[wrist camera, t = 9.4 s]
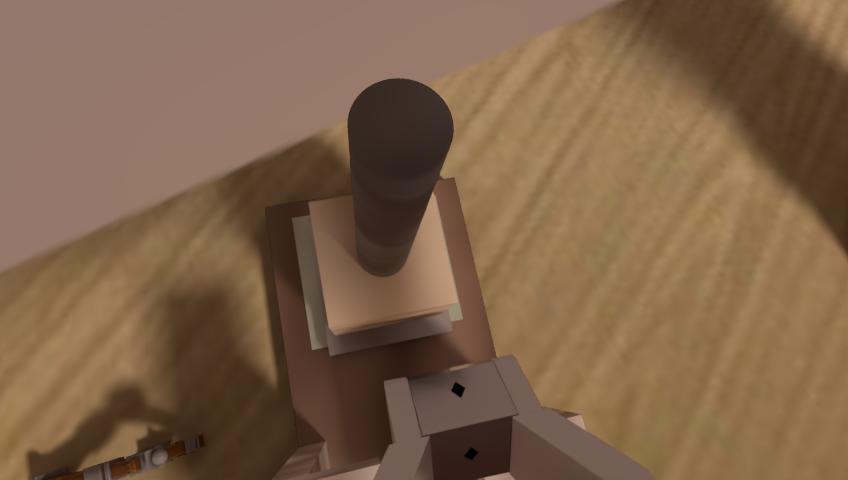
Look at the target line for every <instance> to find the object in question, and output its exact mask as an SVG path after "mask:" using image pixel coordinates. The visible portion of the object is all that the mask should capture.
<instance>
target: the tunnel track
mask: <svg viewBox="0 0 848 480" xmlns="http://www.w3.org/2000/svg"><path fill="white" fill-rule="evenodd" d="M433 193H434V198H435V202H436V207H437V211H438V216H439V220H440V225H441V229H442V234H443V238H444V242H445V247H446V251H447V256H448V260H449V265H450V269H451V274H452V278H453V283H454V287H455V292H456V296H457V301H458V303H456V304H455V305H453V306H452V307H451V308H449V309H448V311H449V315H450V320H451V324H452V329H453V330H452V331H450V332H446V333H441V334H436V335H431V336H426V337H422V338H417V339H412V340H407V341H402V342H397V343H393V344H388V345H383V346H378V347H373V348H369V349H364V350H359V351H354V352H349V353H344V354H340V355H335V356H330V355H329V349H328V343H327V336H326V330H325V324H324V318H323V311H322V305H321V299H320V293H319V286H318V280H317V274H316V268H315V262H314V255H313V249H312V243H311V237H310V230H309V224H308V218H311V215H310V209H309V203H308V202H313V201H320V200H326V199H332V198H339V197H345V196H351V195H353V194H352V193H351V194H345V195H339V196H332V197H326V198H319V199H313V200H307V201H300V202H294V203H287V204H281V205H275V206H268V207H265V213H266V220H267V227H268V234H269V241H270V248H271V255H272V262H273V269H274V276H275V283H276V291H277V298H278V305H279V312H280V319H281V326H282V333H283V340H284V347H285V354H286V361H287V369H288V376H289V383H290V390H291V397H292V404H293V411H294V418H295V425H296V432H297V440H298V447H299V448H298V449H297V450H296V451H295V452H294V453H293V455H292V456H291V457H290V458H289V459H288V461H287V462H286V463H285V464H284V465H283V466H282V468H281V469H280V470H279V471H278V472H277V474H276V475H275V476H274V477H273V478H272V479H271V480H373V479H374V477H375V475H376V472H377V470H378V468H379V466H380V464H381V461H382V459H383V457H384V455H385V453H386V450H387V448H388V446H389V445H390V444H393V441H392V436H391V429H390V423H389V416H388V409H387V402H386V395H385V388H384V381H386V380H392V379H397V378H403V377H406V378H407V376H411V375H417V374H422V373H428V372H433V371H439V370H444V369H448V368H452V367H456V366H461V365H465V364H470V363H474V362H479V361H483V360H488V359H490V360H491V359H493V358H497V357H496V353H495V348H494V344H493V340H492V336H491V331H490V327H489V323H488V319H487V314H486V310H485V306H484V302H483V297H482V293H481V289H480V285H479V280H478V276H477V272H476V268H475V263H474V259H473V255H472V251H471V246H470V242H469V238H468V234H467V229H466V225H465V221H464V217H463V212H462V208H461V204H460V200H459V195H458V191H457V187H456V183H455V178H447V179H441V180H437V182H436V185H435V187H434V190H433ZM542 408H543V409H548V407H543V406H542ZM550 409H552V408H550ZM552 410H553V411H555V412H557V413H558V414H560V415H561V416H563V417H565V418H566V419H568V420H569V421H571V422H573V423H574V424H576V425H578V426H579V427H581V428H582V429H584V430H585V426H584V422H583V418H582V415H581V414H576V413H571V412H567V411H562V410H557V409H552ZM476 480H515V479H514V478H513V477H512V476H511V475H510V472H508V473H503V474H499V475H494V476H489V477H485V478H480V479H476Z"/></svg>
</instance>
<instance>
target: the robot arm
mask: <svg viewBox="0 0 848 480" xmlns="http://www.w3.org/2000/svg"><path fill="white" fill-rule="evenodd" d="M384 388H385V395H386V402H387V409H388V416H389V423H390V429H391V436H392V441H393V444H390V445H389V446H388V448H387V450H386V453H385V455H384V457H383V459H382V461H381V464H380V466H379V468H378V470H377V472H376V475H375V477H374V479H373V480H476V479H480V478H485V477H489V476H494V475H499V474H503V473H508V472H510V475H511V476H512V477H513V478H514V479H515V480H655V479H654V477H653V476H652V474H651V473H650V471H649V470H648V469H647V468H645V467H644V466H642V465H640V464H639V463H637V462H636V461H634V460H632V459H631V458H629V457H627V456H626V455H624V454H623V453H621V452H619V451H618V450H616V449H615V448H613V447H611V446H610V445H608V444H607V443H605V442H603V441H602V440H600V439H598V438H597V437H595V436H594V435H592V434H590V433H589V432H587V431H586V430H584V429H582V428H581V427H579V426H578V425H576V424H574V423H573V422H571V421H569V420H568V419H566V418H565V417H563V416H561V415H560V414H558V413H557V412H555V411H553V410H552V409H550V408H548V409H543V408H542V406H541V404H540V402H539V401H538V399H537V397H536V395H535V393H534V391H533V389H532V387H531V386H530V384H529V382H528V380H527V378H526V376H525V374H524V373H523V371H522V369H521V367H520V365H519V363H518V361H517V360H516V358H515V357H514V356H513V355H507V356H503V357H498V358H493V359H491V360H490V359H488V360H483V361H479V362H474V363H470V364H465V365H461V366H456V367H452V368H448V369H444V370H439V371H433V372H428V373H422V374H417V375H411V376H407V378H406V377H403V378H397V379H392V380H386V381H384Z"/></svg>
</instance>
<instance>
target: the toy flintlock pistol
mask: <svg viewBox="0 0 848 480" xmlns="http://www.w3.org/2000/svg"><path fill="white" fill-rule="evenodd" d="M202 446H205V444H204V439H203V434H202V435H199V436H196V437H191V438H188V439H185V440H182V441H179V442H176V443H175V444H173V445H171V446H170V441H168V442H165V443H162V444H159V445H156V446H153V447H154V448H153V447H152V448H149V449H146V450H144V451H141V452H139V453H137V454H134V455H131V456H128V457H126V459H124V457H119V458H117V459H114V460H111V461H108V462H105V463H102V464H98V465H95V466H92V467H89V468H86V469H83V471H80V472H75V473H68V471H67V467H66V468H63V469H57V470H53V471H50V472H47V473H44V474H41V475H38V476H35V477H32V478H28V480H118V479H120V478H123V477H126V476H127V474H129V477H131V476H134V475H136V474H140V473H144V472H150V471H153V470H155V469H158V468H160V467H163V466H165V463H167V462H169V461H172V460H173V457H176V456H177V457H178V456H181V455H185V454H188V453H190V452H193V451H195V450H196V449H198V448H200V447H202Z"/></svg>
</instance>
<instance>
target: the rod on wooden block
mask: <svg viewBox="0 0 848 480" xmlns="http://www.w3.org/2000/svg"><path fill="white" fill-rule="evenodd" d="M453 132H454V128H453V119H452V116H451V113H450V110H449V108H448V106H447V105H446V103H445V102H444V100H443V99H442V98H441V97H440V96H439V95H438V94H437V93H436V92H435V91H434V90H432V89H431V88H429V87H428V86H426V85H424V84H422V83H419V82H417V81H413V80H409V79H399V78H398V79H388V80H383V81H380V82H377V83H375V84H373V85H371V86H370V87H368V88H366V89H365V90H364V91H363V92H362V93H361V94H360V95H359V96H358V97H357V98H356V100H355V101H354V103H353V105H352V107H351V109H350V112H349V116H348V139H349V152H350V166H351V180H352V194H353V195H351V196H345V197H339V198H332V199H326V200H320V201H313V202H308V203H309V209H310V215H311V218H308V224H309V230H310V237H311V243H312V249H313V255H314V262H315V268H316V274H317V280H318V286H319V293H320V299H321V305H322V311H323V318H324V324H325V330H326V336H327V343H328V349H329V355H330V356H335V355H340V354H344V353H349V352H354V351H359V350H364V349H369V348H373V347H378V346H383V345H388V344H393V343H397V342H402V341H407V340H412V339H417V338H422V337H426V336H431V335H436V334H441V333H446V332H450V331H452V330H453V329H452V324H451V320H450V315H449V311H448V309H449V308H451V307H452V306H453V305H455V304H456V303H458V301H457V296H456V292H455V287H454V283H453V278H452V274H451V269H450V265H449V260H448V256H447V251H446V247H445V242H444V238H443V234H442V229H441V225H440V220H439V216H438V211H437V207H436V202H435V198H434V193H433V190H434V187H435V185H436V182H437V179H438V177H439V174H440V171H441V169H442V166H443V164H444V161H445V158H446V156H447V153H448V151H449V148H450V145H451V142H452V139H453Z"/></svg>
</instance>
